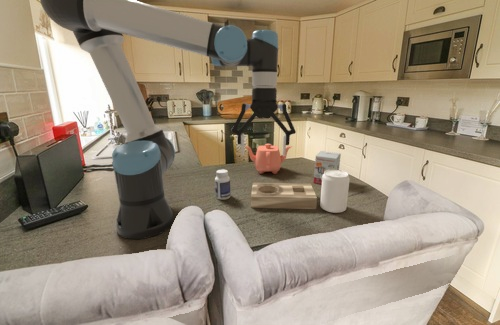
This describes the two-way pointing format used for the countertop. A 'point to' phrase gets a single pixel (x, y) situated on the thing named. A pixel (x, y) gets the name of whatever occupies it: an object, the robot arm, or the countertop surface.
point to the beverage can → (334, 191)
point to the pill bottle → (222, 185)
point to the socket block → (283, 196)
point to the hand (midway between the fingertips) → (263, 154)
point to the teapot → (267, 158)
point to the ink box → (325, 164)
